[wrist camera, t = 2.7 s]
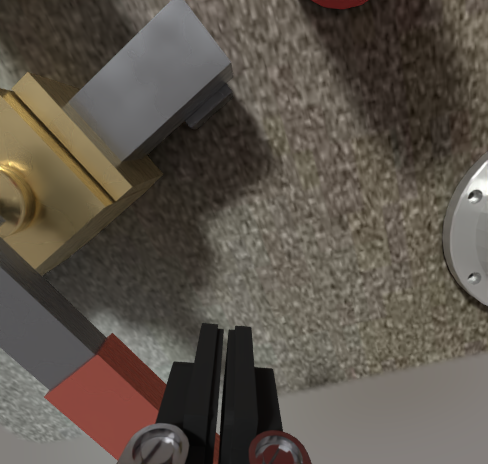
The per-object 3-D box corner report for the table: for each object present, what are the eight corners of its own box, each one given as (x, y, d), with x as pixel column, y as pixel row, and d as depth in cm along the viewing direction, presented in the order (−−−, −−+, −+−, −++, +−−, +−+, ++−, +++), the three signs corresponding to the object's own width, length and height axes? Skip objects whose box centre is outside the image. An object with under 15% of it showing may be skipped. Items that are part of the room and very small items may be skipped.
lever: (-88, 200, 13) (-181, 216, 10) (-33, 143, 12) (-115, 143, 9) (179, 445, 15) (165, 510, 13) (233, 408, 15) (230, 468, 12)
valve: (181, 15, 19) (130, -90, 11) (248, 102, 20) (251, 71, 12) (-59, 249, 23) (-246, 314, 14) (9, 311, 24) (-124, 406, 15)
